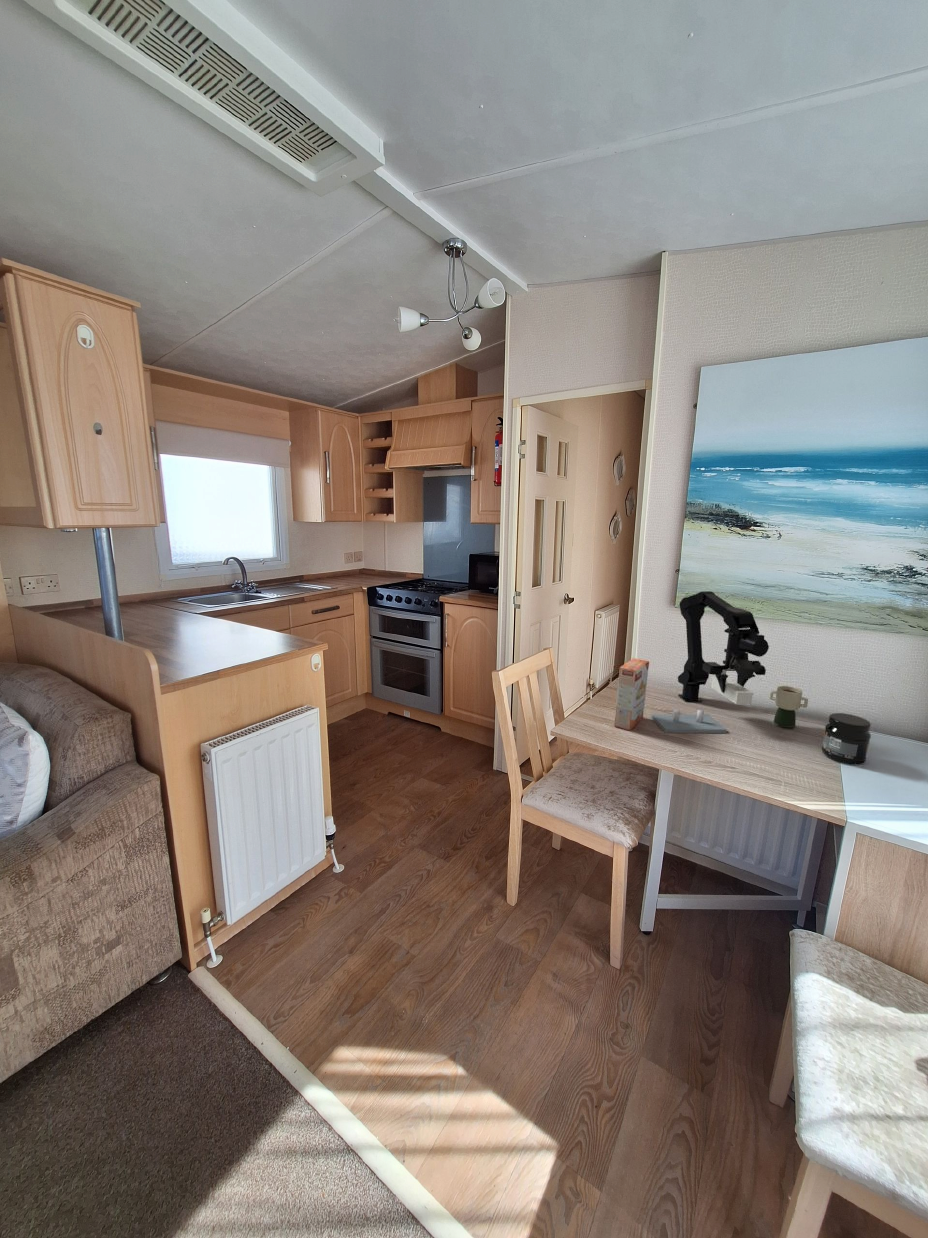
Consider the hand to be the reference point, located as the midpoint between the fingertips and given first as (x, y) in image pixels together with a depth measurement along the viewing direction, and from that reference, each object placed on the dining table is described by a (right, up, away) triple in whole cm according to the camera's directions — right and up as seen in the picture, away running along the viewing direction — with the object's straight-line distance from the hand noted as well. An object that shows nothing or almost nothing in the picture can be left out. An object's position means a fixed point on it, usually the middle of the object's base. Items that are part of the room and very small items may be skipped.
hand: (730, 692), depth 167 cm
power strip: (0, -1, 0) cm, 1 cm away
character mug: (+17, -11, -1) cm, 21 cm away
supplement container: (+21, -16, -23) cm, 35 cm away
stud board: (-16, -11, -2) cm, 19 cm away
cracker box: (-35, -10, 0) cm, 36 cm away
